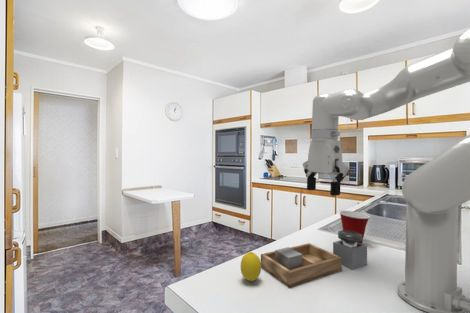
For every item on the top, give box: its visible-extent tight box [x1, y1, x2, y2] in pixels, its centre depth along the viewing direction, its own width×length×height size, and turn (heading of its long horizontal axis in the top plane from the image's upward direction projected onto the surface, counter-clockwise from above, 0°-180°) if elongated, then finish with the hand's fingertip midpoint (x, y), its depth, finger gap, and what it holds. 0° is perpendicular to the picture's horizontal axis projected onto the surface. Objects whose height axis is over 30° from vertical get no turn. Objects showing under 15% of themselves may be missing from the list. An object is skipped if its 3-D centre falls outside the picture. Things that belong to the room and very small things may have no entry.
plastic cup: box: [338, 210, 371, 244], centre depth 94 cm, size 11×11×12 cm
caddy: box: [260, 242, 343, 289], centre depth 73 cm, size 13×20×6 cm, turn 118°
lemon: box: [240, 251, 262, 282], centre depth 66 cm, size 6×6×8 cm
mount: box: [332, 239, 368, 270], centre depth 77 cm, size 7×7×6 cm
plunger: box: [337, 229, 362, 248], centre depth 77 cm, size 7×7×8 cm
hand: (322, 192), depth 74 cm, fingers open, 9 cm apart
